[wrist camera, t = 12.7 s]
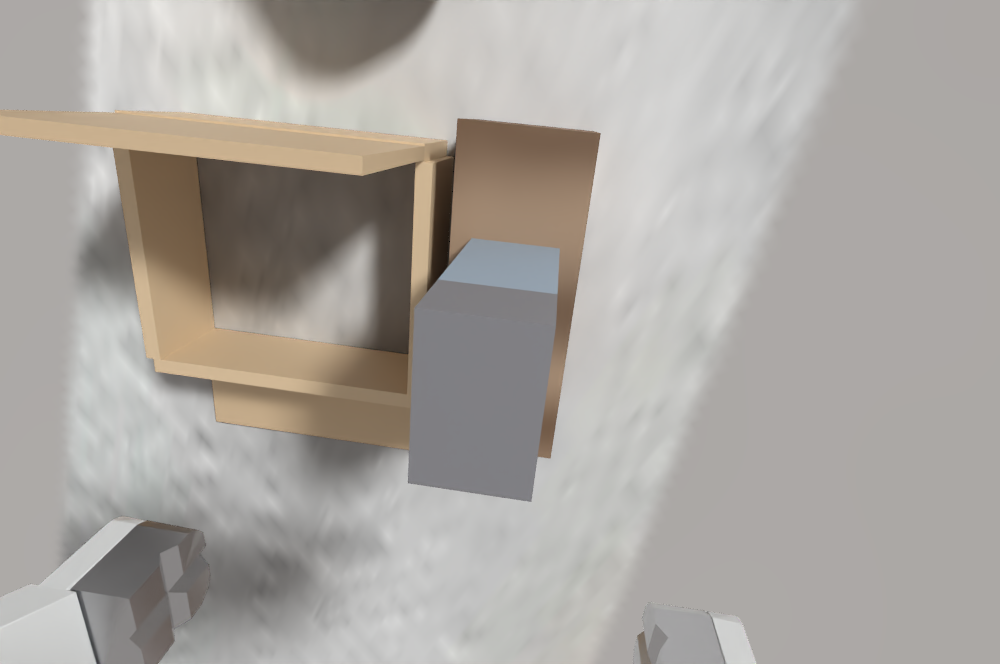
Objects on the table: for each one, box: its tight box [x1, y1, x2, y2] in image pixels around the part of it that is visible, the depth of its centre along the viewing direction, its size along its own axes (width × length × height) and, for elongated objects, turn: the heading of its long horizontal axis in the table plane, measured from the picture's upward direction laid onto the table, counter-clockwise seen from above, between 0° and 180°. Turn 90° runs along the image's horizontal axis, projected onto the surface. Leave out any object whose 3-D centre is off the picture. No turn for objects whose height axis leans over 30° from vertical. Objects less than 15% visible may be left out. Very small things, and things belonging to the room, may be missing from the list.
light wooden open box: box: [0, 110, 454, 450], centre depth 27 cm, size 20×16×13 cm
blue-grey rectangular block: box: [408, 238, 560, 502], centre depth 21 cm, size 6×4×10 cm, turn 175°
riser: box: [448, 119, 601, 458], centre depth 28 cm, size 16×6×6 cm, turn 174°
